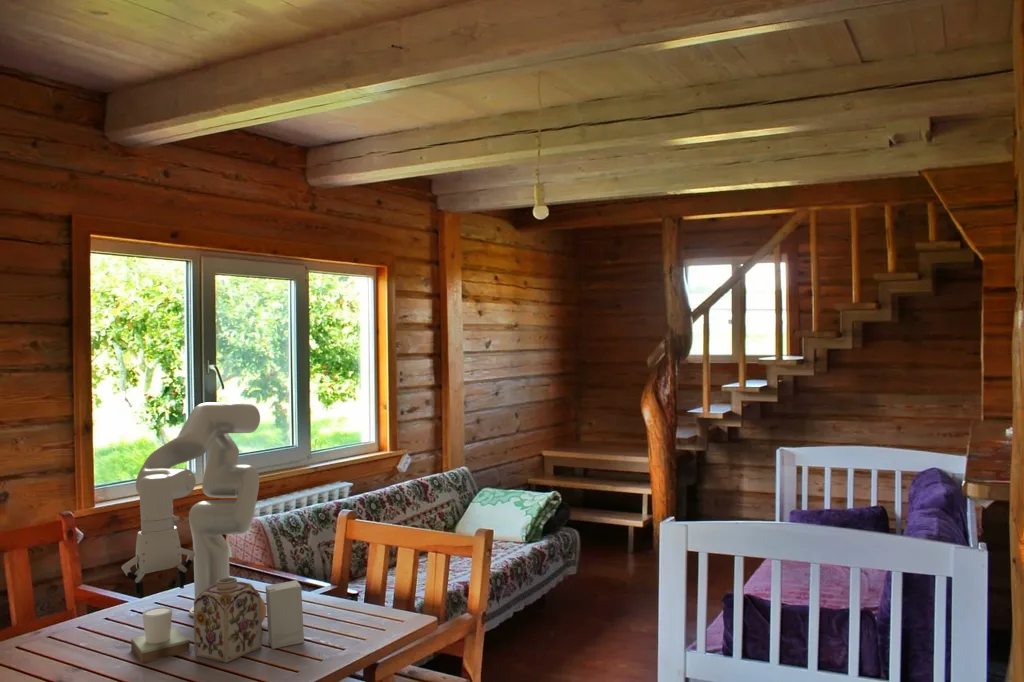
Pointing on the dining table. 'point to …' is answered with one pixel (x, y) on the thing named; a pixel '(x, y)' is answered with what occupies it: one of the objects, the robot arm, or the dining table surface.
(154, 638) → the beige cylinder
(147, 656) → the plinth
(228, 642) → the decorative jar
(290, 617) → the skincare box
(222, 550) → the robot arm
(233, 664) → the dining table surface
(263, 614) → the egg
